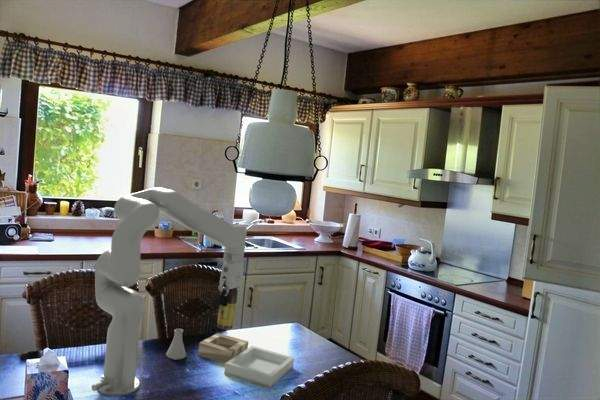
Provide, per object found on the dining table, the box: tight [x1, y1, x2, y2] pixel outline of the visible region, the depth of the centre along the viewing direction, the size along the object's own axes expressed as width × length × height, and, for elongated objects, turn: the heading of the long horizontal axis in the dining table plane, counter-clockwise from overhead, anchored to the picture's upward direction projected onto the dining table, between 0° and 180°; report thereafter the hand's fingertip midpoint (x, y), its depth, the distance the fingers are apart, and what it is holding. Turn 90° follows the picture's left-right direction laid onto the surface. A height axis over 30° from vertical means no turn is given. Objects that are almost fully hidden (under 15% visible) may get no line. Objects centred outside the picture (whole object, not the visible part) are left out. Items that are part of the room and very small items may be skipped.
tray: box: [224, 345, 295, 389], centre depth 181 cm, size 20×18×4 cm
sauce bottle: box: [216, 286, 238, 330], centre depth 190 cm, size 6×6×20 cm
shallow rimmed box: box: [197, 332, 249, 364], centre depth 192 cm, size 13×14×5 cm
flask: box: [165, 328, 188, 360], centre depth 185 cm, size 7×7×10 cm
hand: (227, 303), depth 190 cm, fingers closed on sauce bottle, 6 cm apart
